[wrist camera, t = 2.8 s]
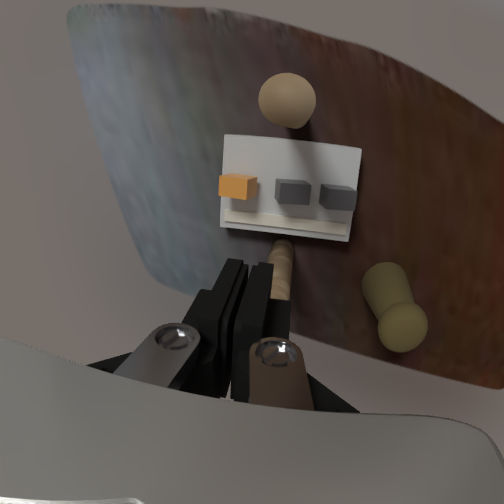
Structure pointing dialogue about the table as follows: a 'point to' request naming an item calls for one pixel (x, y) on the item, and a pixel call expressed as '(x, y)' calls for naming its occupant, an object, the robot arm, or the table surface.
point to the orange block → (237, 186)
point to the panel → (295, 168)
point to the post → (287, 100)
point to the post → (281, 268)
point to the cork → (394, 307)
